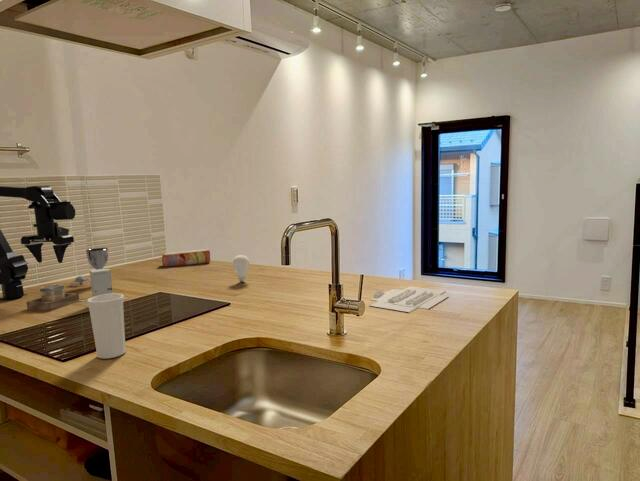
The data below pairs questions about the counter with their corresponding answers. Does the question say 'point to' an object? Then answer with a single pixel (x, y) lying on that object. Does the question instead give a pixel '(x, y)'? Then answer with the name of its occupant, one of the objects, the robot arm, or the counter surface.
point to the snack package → (186, 257)
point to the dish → (77, 284)
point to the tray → (408, 298)
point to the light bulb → (241, 266)
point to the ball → (80, 279)
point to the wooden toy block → (52, 293)
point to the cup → (108, 324)
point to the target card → (84, 299)
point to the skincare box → (101, 282)
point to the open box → (52, 303)
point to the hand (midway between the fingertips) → (50, 262)
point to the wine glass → (97, 257)
